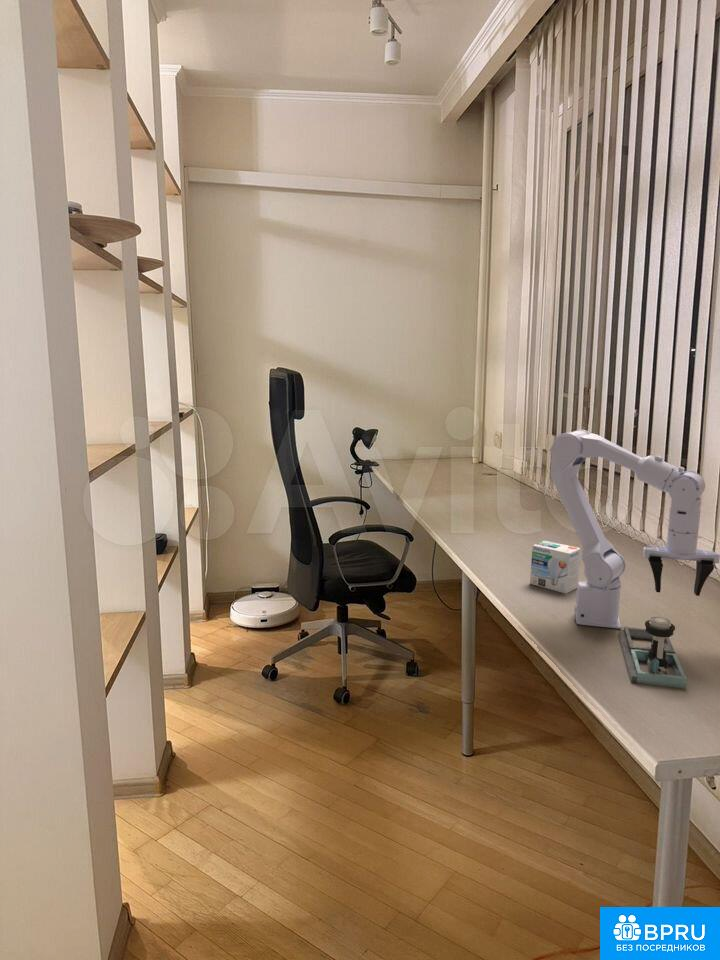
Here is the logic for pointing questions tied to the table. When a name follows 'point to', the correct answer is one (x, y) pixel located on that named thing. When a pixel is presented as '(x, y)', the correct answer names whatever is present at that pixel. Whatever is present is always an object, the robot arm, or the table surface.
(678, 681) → the grey teal rectangular frame
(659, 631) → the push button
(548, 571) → the light bulb box
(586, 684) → the table surface
